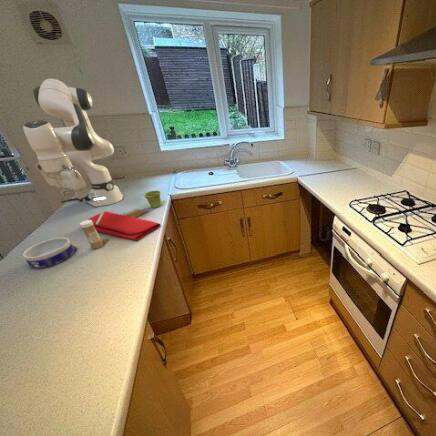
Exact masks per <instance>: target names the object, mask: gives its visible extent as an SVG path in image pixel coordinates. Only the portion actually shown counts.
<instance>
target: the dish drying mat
mask: <svg viewBox="0 0 436 436" xmlns="http://www.w3.org/2000/svg"><path fill="white" fill-rule="evenodd" d="M124 215H125V214H120V213H116V212H111V211H107V210H105V211H103V212H101V213H98V214H95V215H94V216H91V217H90V218H88V219H87V220H92V222H93V225H94V227H95V229H96V231H97V233H102V234H107V235H109V236H115V237H119V238H123V239H127V240H132V241H139V240H141V239H142V238H144V237H145V236H147V235H148V234H150V233H151V232H153V231H155V230H157V229H158V228H160V227H161V223H159V222H156V221H152V220H147V219H142V218H138V217H136V218H133V217H129V216H124Z"/></svg>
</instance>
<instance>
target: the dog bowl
mask: <svg viewBox="0 0 436 436" xmlns="http://www.w3.org/2000/svg"><path fill="white" fill-rule="evenodd" d="M75 251H76V249H75V248H74V246H73V244H72V243H71V241H70V238H68V237H54V238H50V239H46V240H42V241H41V242H38V243H35V244H33V245H32V246H30V247H28V248H27V249H25V251H24V252H23V253H22V257H23V259H24V260H25V262H27V264H28V265H29V267H31V269H38V270H39V269H47V268H50V267H53V266H56V265H59V264H60V263H63V262H65V261H66V260H68V259H69V258H71V257H72V256H73V255H74V254H75Z"/></svg>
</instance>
